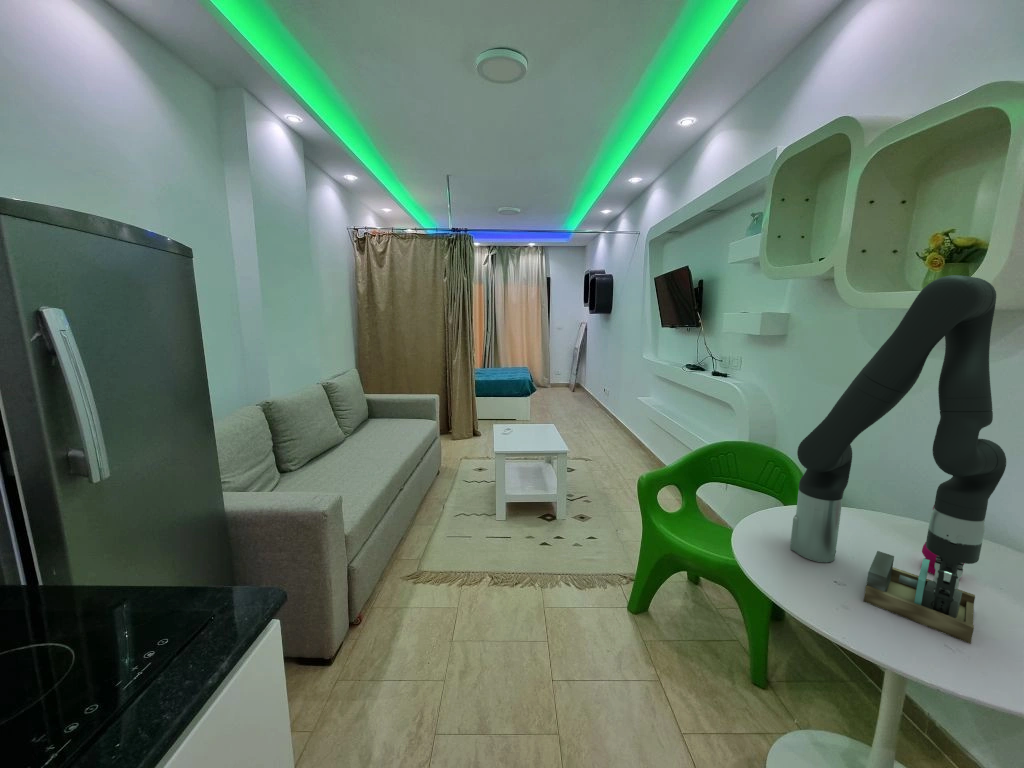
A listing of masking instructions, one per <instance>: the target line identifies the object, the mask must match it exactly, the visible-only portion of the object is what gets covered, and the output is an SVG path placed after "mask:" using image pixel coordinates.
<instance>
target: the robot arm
mask: <svg viewBox="0 0 1024 768" xmlns="http://www.w3.org/2000/svg"><path fill="white" fill-rule="evenodd" d="M996 304H997V291H996V289H995V287H994V286H993V285H992V284H991V283H990V282H989V281H987V280H985V279H983V278H980V277H975V276H969V275H959V274H958V275H957V274H955V275H954V274H953V275H946V276H941V277H939V278H937V279H934V280H933V281H932V282H930V283H928V284H927V285H926V286H924V287H923V288H922V289H921V290H920V292H919V293H918V294H917V296H916V297H915V299H914V301H912V304H911V305H910V306H909V308H908V310H907V311H906V313H905V314H904V316H903V317H902V319H901V320H900V322H899V324H898V325H897V327H896V328H895V329H894V331H893V332H892V334H890V336H889V337H888V338H887V339H886V340H885V342H884V343H883V344H882V345H881V346H880V347H879V349H878V350H877V352H875V353H874V355H873V356H872V357H871V359H869V361H867V363H866V364H865V366H864V367H862V369H861V370H860V371H859V373H858V374H857V375H856V377H855V378H854V379H853V380H852V381H851V383H850V384H849V385H848V387H847V388H846V390H844V392H843V394H842V395H841V396H840V397H839V399H838V400H837V402H835V404H834V405H833V407H832V408H831V410H830V411H829V413H828V414H827V416H825V417H824V419H823V420H822V421H821V422H820V423H819V424H818V425H817V426H816V427H815V428H814V429H813V430H812V431H811V432H809V434H808V435H806V436H805V437H804V438H803V439H802V440H801V442H800V443H799V444H798V447H797V453H796V454H797V459H798V461H799V462H800V465H801V466H802V467H804V468H805V469H806V470H805V472H804V473H803V475H802V476H801V478H800V479H799V483H798V492H797V493H798V494H797V503H796V511H795V515H794V516H793V518H792V525H791V527H792V528H791V536H790V545H789V549H790V551H793V552H795V553H796V554H797V555H800V556H801V557H802V558H805V559H808V560H809V561H810V560H811V561H813V562H818V563H831V562H833V561H835V558H836V554H837V544H838V537H839V536H838V535H839V530H840V523H841V522H840V521H841V514H842V507H843V498H844V493H845V489H846V488H847V486H848V483H849V479H850V474H851V467H852V462H853V447H852V445H851V444H852V443H853V442H854V441H855V439H857V437H858V436H859V435H860V434H862V433H863V432H864V431H865V430H867V429H868V428H870V427H871V426H873V425H874V424H876V422H878V421H879V420H880V419H882V418H883V417H884V416H885V415H887V414H888V413H889V412H890V411H892V410H893V409H894V408H895V407H896V406H897V405H898V404H899V403H900V402H901V401H902V399H904V398H905V396H906V395H907V394H908V393H909V392H910V391H911V390H912V388H913V387H914V386H915V384H916V383H917V381H918V379H919V378H920V375H921V373H922V371H923V369H924V366H925V363H926V361H927V360H928V357H929V356H930V354H931V352H932V350H934V348H935V347H936V346H937V344H938V343H939V342H940V341H941V340H942V339H943V338H944V339H945V344H944V346H945V349H944V358H943V362H942V366H941V370H940V374H939V380H938V387H937V388H938V389H937V391H938V392H937V393H938V404H939V405H938V407H939V417H940V418H939V422H938V424H937V427H936V432H935V436H934V438H933V439H934V440H933V443H932V456H933V459H934V462H935V464H936V466H937V467H938V468H939V469H940V470H941V471H942V472H944V473H945V474H947V475H949V476H951V478H949V479H947V480H946V481H944V482H941V483H940V484H939V485H938V487H937V489H936V494H935V497H934V498H935V499H934V504H933V506H934V509H933V508H932V512H931V514H930V518H929V523H928V528H927V534H926V541H925V542H926V547H927V549H928V550H929V551H931V552H932V553H934V554H935V555H936V561H935V566H934V568H935V575H933V576H934V577H933V581H934V583H935V584H936V591H935V590H934V594H935V600H934V606H933V610H935V611H937V612H940V613H943V614H945V615H949V609H950V604H951V602H952V601H954V597H953V595H954V590H957V589H959V584H960V580H961V579H960V578H962V576H963V572H964V565H973V564H977V563H978V562H979V560H980V555H981V550H982V545H983V541H984V536H985V531H986V530H985V529H986V528H985V527H986V525H985V521H986V515H987V510H988V505H989V499H990V498H991V496H992V494H993V493H994V491H995V490H996V488H997V486H998V485H999V484H1000V481H1001V480H1002V478H1003V476H1004V474H1005V472H1006V468H1007V456H1006V452H1005V451H1004V449H1003V448H1002V447H1001V446H1000V445H999V444H998V443H996V442H994V441H993V440H989V439H985V438H979V435H980V432H981V430H982V429H984V428H987V427H989V426H991V424H992V422H993V420H994V419H993V418H994V413H993V400H992V398H993V397H992V390H991V377H990V376H991V374H990V373H991V371H990V349H991V348H990V345H991V335H992V327H993V321H994V316H995V309H996ZM937 555H938V556H937ZM963 563H964V565H963ZM939 588H944V589H947V590H949V591H950V594H949V593H946V592H943V591H940V590H939Z"/></svg>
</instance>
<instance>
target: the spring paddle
mask: <svg viewBox="0 0 1024 768" xmlns="http://www.w3.org/2000/svg"><path fill="white" fill-rule="evenodd" d="M924 558H925V557H924ZM924 558H923V559H922V562H921V566H920V570H919V575H918V576H919V578H918V581H917V580H914V579H911V578H908V577H905V576H902V575H900V576H899V582H900V583H903V584H906V585H909V586H912V587H915V588H917V590H916V596H915V601H914V603H916V604H919V605H921V604H922V598H923V592H924V588H925V584H926V579H928V573H929V572H928V567H929V561H930V560H927V559H924Z"/></svg>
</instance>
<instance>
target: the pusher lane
mask: <svg viewBox="0 0 1024 768" xmlns="http://www.w3.org/2000/svg"><path fill="white" fill-rule="evenodd" d="M894 561H895V555H893V554H888V553H886V552H883V551H880V550H877V551H876V554H875V556H874V558H873V560H872V562H871V564H870V567H869V570H868V572H867V579H866V586H865V590H864V596H863V602H865V603H867V604H869V605H872V606H873V607H877V608H880V609H883V610H884V611H886V612H890V613H892V614H894V615H897V616H899V617H902V618H903V619H906V620H909V621H912V622H914V623H917V624H920V625H922V626H924V627H927V628H930V629H931V630H935V631H937V632H940V633H942V634H945V635H947V636H950V637H952V638H954V639H957V640H959V641H962V642H964V643H967V644H972V640H973V639H972V638H973V634H974V629H975V624H974V613H975V612H974V611H975V610H974V606H975V599H976V594H974V593H971V592H967V591H965V590H961V589H959V588H958V589H957V590H959V591H961V592H962V596H961V601H960V606H959V611H958V615H957V618H953V617H951V616H948V615H945V614H943V613H940V612H937V611H935V610H932V609H929V608H927V607H924V606H921V605H919V604H916V603H914V601H915V596H916V590H917V588H915V587H912V586H909V585H906V584H903V583H900V582H899V576H900V575H902V576H905V577H908V578H911V579H914V580H917V581H918V578H919V575H917V574H913V573H911V572H908V571H905V570H904V569H899V568H897V567H893V566H894ZM928 580H931V581H933V579H929V578H927V579H926V584H927V582H928ZM926 584H925V586H926Z"/></svg>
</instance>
